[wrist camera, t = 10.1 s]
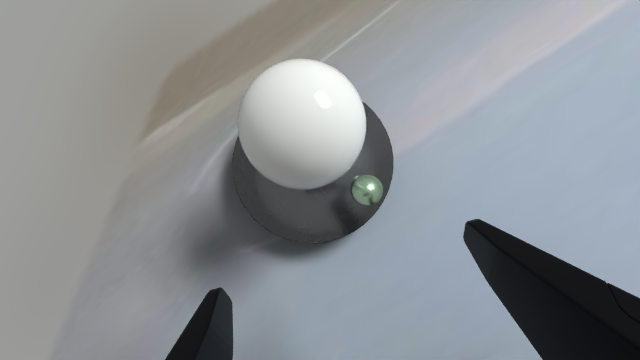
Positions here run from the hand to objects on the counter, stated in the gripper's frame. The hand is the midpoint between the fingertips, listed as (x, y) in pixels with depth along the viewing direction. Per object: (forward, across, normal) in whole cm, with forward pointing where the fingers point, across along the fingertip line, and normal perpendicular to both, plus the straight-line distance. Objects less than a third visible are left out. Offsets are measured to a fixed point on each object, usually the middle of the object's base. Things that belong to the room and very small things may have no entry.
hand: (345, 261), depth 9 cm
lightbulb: (+12, 0, +3) cm, 13 cm away
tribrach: (+14, 0, +5) cm, 15 cm away
